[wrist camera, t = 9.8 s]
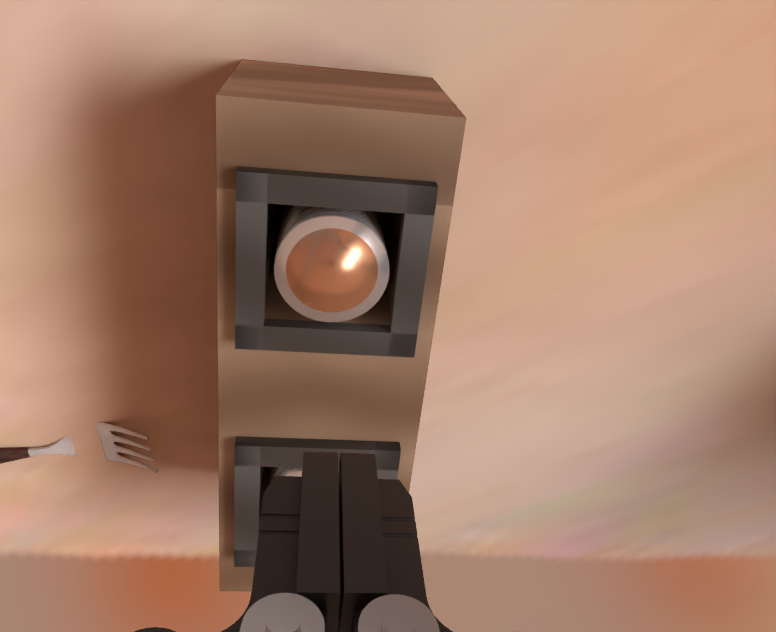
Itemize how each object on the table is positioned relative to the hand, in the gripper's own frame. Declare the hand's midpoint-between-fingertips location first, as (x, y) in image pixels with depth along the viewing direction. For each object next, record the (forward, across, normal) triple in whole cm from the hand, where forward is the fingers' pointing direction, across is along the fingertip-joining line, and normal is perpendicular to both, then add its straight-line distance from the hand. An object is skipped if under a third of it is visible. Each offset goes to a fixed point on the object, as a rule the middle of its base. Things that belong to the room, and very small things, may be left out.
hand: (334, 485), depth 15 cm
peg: (+20, 0, 0) cm, 20 cm away
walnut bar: (+20, 0, +6) cm, 20 cm away
